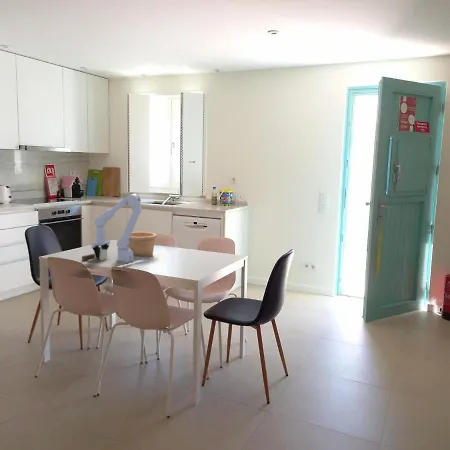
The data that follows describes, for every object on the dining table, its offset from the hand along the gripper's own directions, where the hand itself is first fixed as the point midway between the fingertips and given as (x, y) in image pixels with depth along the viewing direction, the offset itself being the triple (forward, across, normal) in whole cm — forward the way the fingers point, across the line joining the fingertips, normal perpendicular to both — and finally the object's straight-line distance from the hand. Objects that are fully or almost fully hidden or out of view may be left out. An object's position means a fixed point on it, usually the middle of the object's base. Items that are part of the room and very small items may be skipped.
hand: (100, 256), depth 288 cm
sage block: (+1, 0, 0) cm, 1 cm away
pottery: (+3, -30, +8) cm, 31 cm away
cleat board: (+3, +4, 0) cm, 5 cm away
